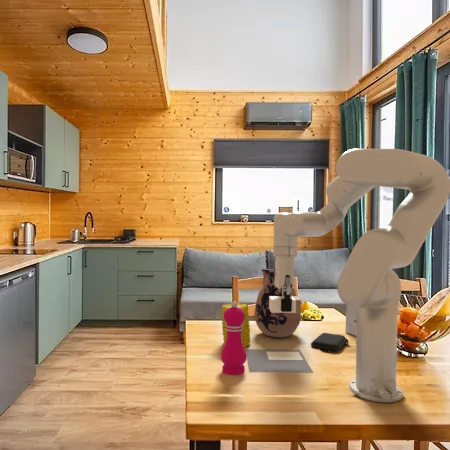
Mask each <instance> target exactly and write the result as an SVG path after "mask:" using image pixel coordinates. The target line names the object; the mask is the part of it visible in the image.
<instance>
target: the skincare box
mask: <svg viewBox="0 0 450 450" xmlns="http://www.w3.org/2000/svg"><path fill="white" fill-rule="evenodd" d="M345 308H346V309H345V311H346V312H345V333H347V334H350V335H353V336H354V337H355V336H356V324H357V314H358V309H359V308H353V307H350V306H348V305H346V306H345Z"/></svg>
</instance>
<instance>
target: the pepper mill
mask: <svg viewBox="0 0 450 450" xmlns="http://www.w3.org/2000/svg"><path fill="white" fill-rule="evenodd" d="M230 304H231V306H232V307H230V308H228V309H226V310H225V312H224V320H225V322H226V323H227V324H226V325H225V326H226V328H225V329H226V330H227V339H226V343H225V344H224V345H223V347H222V350H221V354H220V360H221V362H222V363H223V365H222V370H221V371H222V373H223V374H225V375H229V376H239V375H242V374H244V373H245V370H246V368H245V367H246V366H245V365H244V364H245V363H246V362H247V356H246V351H245V347H244V346H243V344H242V340H241V331H242V330H243V325H242V323H243V321H244V319H245V314H244V311H243V310H242V309H241V308H239V307H237V305H238V304H239V303H238V302H237V301H232V302H231V303H230Z"/></svg>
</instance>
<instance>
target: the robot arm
mask: <svg viewBox="0 0 450 450" xmlns="http://www.w3.org/2000/svg"><path fill="white" fill-rule="evenodd" d="M335 172H336V175H337V176H336V177H335V178H333V180H331V181H330V182H329V183H328V184H327V185H326V188H325V194H326V196H327V198H328V200H329V202H328V203H326V205H324V206H323V207H322V208H321V209H320V210H318V211H317V212H314V211H294V212H278V213H276V214H275V215H274V216H273V246H272V247H273V255H272V256H273V257H274V258H275V266H274V268H275V281H274V284H275V286H276V287H277V288H278V296H282V298H281V311H282V312H291V311H292V294H291V289H293V288H294V289H295V272H294V270H295V258H298V245H299V244H298V241H299V240H298V238H309V237H310V238H313V237H316V238H317V237H318V238H319V237H323V236H325V235H326V234H328V233H329V232H331V231H332V230H334V228H336V227H337V226H338V225H340V224H341V222H342V221H344V219H345V217H346V215H347V213H348V212H349V208H350V207H351V206H353V205H354V204H355V203H357V202H358V201H359V200H360V199H361V198H362V197H364V196H365V195H367V194H368V193H369V192H370V191H372V189H374V188H376V187H383V188H384V187H385V188H393V189H401V190H408V191H409V192H408V195H407V196H406V198H405V199H403V201H402V202H401V203H400V204H399V206H398V207H397V208H396V210H395V212H394V214H393V216H392V218H391V220H390V222H389V223H388V225H387V226H386V227H384V228H374V229H373V228H372V229H370V230H368V231H366V232H364V233H363V234H362V235H361V236H360V238H358V240H357V241H356V243H355V245H354V246H353V248H352V250H351V253H350V254H349V256H348V258H347V260H346V262H345V265H344V267H343V268H342V270H341V272H340V274H339V277H338V280H337V285H336V286H337V294H338V297H339V298H340V300H341V302H343V304H345V306H347V305H348V306H350V307H353V308H359V309H358V314H357V324H356V337H355V338H356V339H355V378H354V379H351V380H350V381H349V384H348V387H349V389H350V391H351V392H353V394H354V395H355V396H356V397H360V399H361V398H362V399H364V400H367V401H371V402H375V403H376V402H377V403H394V402H398V401H400V400H402V399H403V397H404V391H403V389H402V388H401V387H400V386H399V385H397V367H398V366H397V364H398V363H397V362H398V361H397V359H398V358H397V357H398V356H397V355H398V354H397V353H398V346H397V345H398V341H397V340H398V315H399V307H400V302H401V295H402V283H401V280H400V277H399V276H398V274H397V273H396V272H395V271H394V269H400V268H405V267H407V266H409V265H410V264H411V263H413V262H414V260H415V258H416V256H417V255H418V253H419V251H420V249H421V247H422V246H423V243H424V242H425V240H426V239H427V237H428V235H429V234H430V232H431V230H432V229H433V226H434V224H436V223H435V222H436V221H437V219H438V217H440V216H439V215H440V214H441V212H442V211H443V209H444V208H445V206H446V204H447V201H448V199H449V196H450V178H449V177H450V176H449V175H448V173H447V171H446V169H445V168H444V166H443V165H442V164H441V163H440V162H439V161H437V159H435V158H432V157H431V156H428V155H426V154H421V153H417V152H413V151H410V150H406V149H399V148H352V149H347V151H345V152H343V153H342V154H341V155H340V157H339V158H338V159H337V162H336V165H335Z"/></svg>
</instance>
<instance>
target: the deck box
mask: <svg viewBox="0 0 450 450" xmlns="http://www.w3.org/2000/svg"><path fill="white" fill-rule="evenodd" d="M281 298H282V296H269V309H270V311H271V313H302V299H301V298H300V297H299V296H297V295H296V296H292V311H291V312H282V311H281Z"/></svg>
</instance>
